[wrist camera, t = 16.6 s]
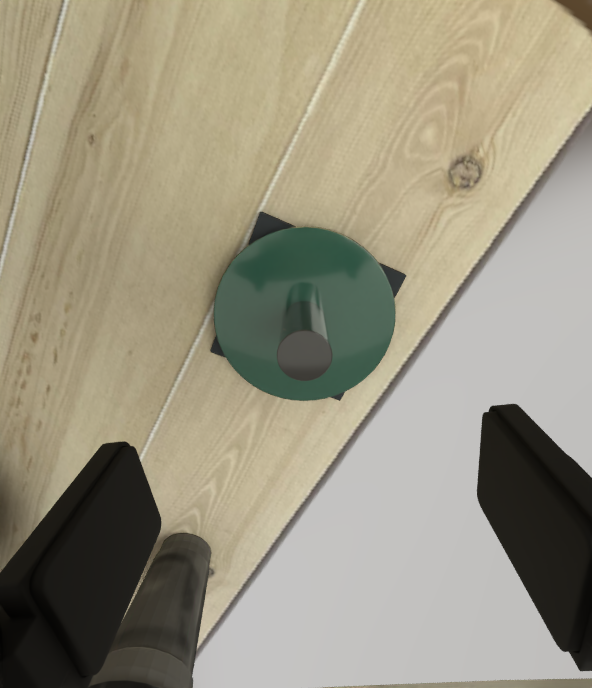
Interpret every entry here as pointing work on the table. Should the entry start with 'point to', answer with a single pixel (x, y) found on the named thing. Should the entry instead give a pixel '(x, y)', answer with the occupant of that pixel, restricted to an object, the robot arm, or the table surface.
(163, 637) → the beverage cup
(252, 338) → the lid
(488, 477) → the robot arm
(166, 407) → the table surface
